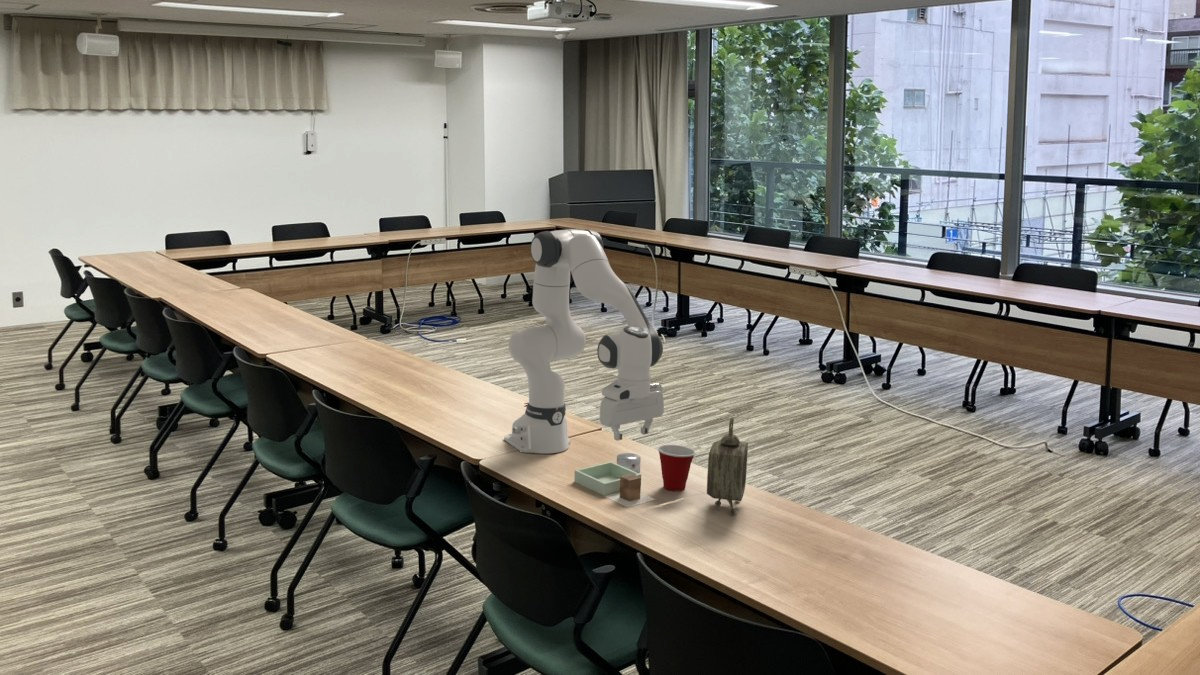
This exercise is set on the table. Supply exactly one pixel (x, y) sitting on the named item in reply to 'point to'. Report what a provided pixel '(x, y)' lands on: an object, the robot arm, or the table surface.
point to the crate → (602, 477)
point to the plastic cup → (675, 465)
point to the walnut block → (630, 487)
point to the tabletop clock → (727, 469)
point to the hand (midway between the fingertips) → (631, 436)
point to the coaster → (626, 503)
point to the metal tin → (629, 461)
